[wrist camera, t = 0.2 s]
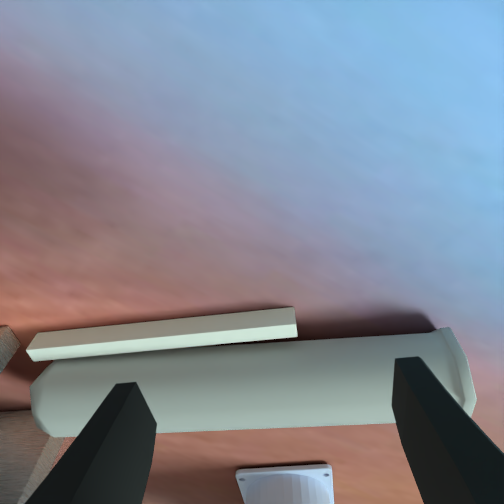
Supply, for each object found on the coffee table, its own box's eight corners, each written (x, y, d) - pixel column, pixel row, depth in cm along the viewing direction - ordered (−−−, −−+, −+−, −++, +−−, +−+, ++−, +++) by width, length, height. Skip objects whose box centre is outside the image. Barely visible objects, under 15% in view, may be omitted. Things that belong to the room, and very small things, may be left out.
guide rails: (304, 394, 27) (306, 412, 25) (87, 411, 28) (80, 429, 27) (294, 306, 22) (296, 324, 21) (37, 332, 24) (25, 350, 22)
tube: (48, 452, 24) (453, 436, 22) (-6, 432, 20) (487, 410, 18) (72, 370, 28) (426, 350, 25) (30, 338, 23) (449, 310, 21)
